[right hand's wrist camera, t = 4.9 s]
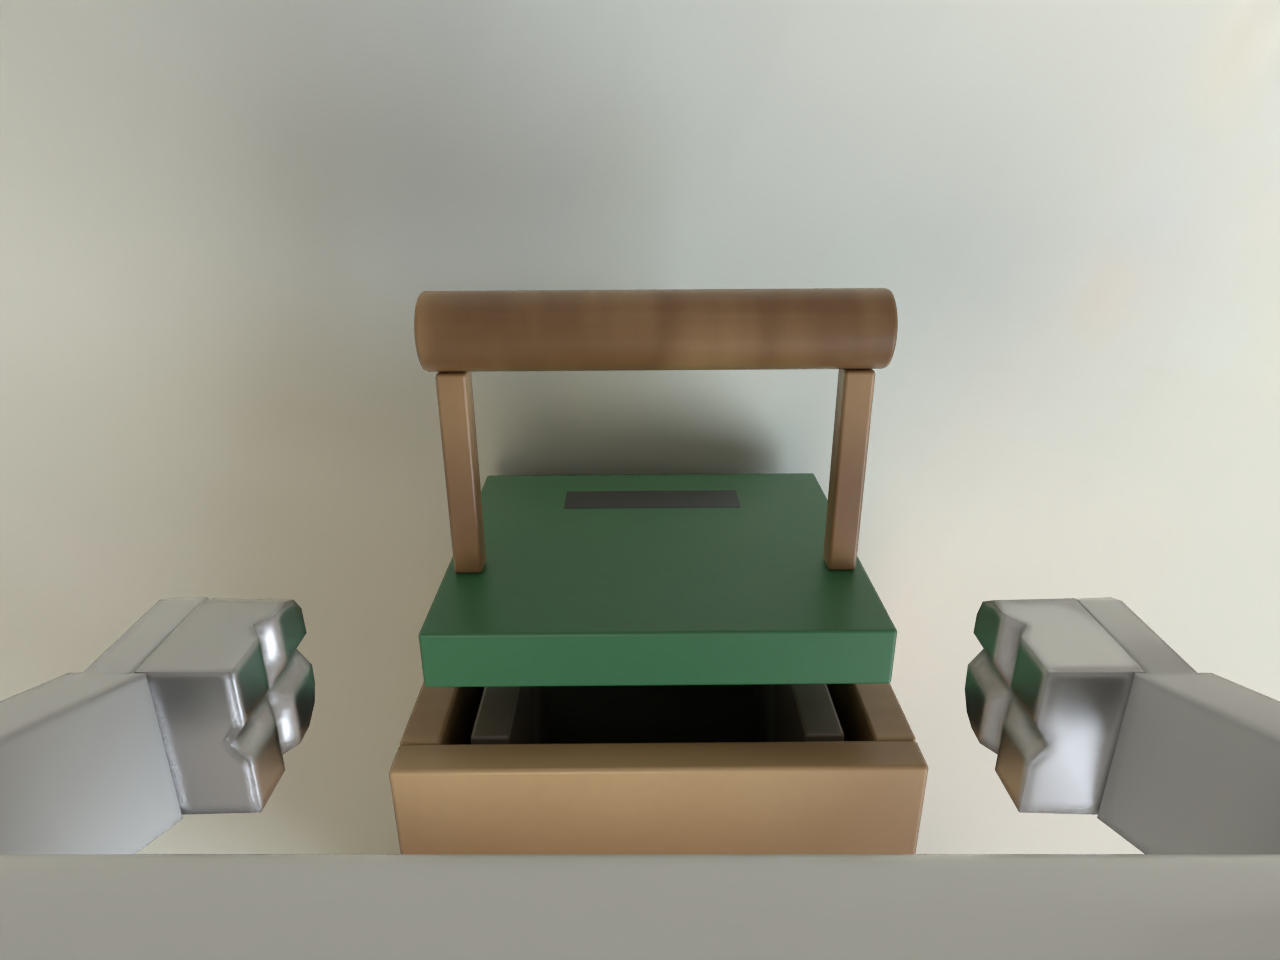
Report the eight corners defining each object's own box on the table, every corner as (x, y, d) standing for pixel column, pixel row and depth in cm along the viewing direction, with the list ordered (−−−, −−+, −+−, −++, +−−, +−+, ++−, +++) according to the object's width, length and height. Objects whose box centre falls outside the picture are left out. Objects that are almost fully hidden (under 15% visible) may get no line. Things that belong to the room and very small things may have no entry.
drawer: (470, 254, 21) (379, 319, 14) (830, 252, 21) (937, 315, 14) (521, 907, 29) (482, 1170, 22) (781, 905, 29) (830, 1167, 22)
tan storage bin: (477, 539, 25) (386, 772, 16) (822, 536, 25) (930, 766, 16) (513, 957, 31) (463, 1294, 22) (787, 954, 31) (850, 1290, 22)
